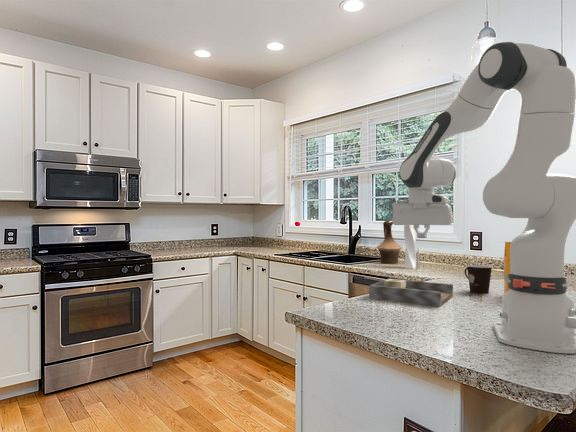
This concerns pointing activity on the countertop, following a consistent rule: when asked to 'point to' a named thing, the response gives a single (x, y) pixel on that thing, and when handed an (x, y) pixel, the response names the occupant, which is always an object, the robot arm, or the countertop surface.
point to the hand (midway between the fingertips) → (421, 238)
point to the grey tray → (413, 292)
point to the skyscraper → (410, 248)
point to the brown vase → (389, 246)
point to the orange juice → (506, 265)
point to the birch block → (395, 283)
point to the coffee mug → (479, 278)
